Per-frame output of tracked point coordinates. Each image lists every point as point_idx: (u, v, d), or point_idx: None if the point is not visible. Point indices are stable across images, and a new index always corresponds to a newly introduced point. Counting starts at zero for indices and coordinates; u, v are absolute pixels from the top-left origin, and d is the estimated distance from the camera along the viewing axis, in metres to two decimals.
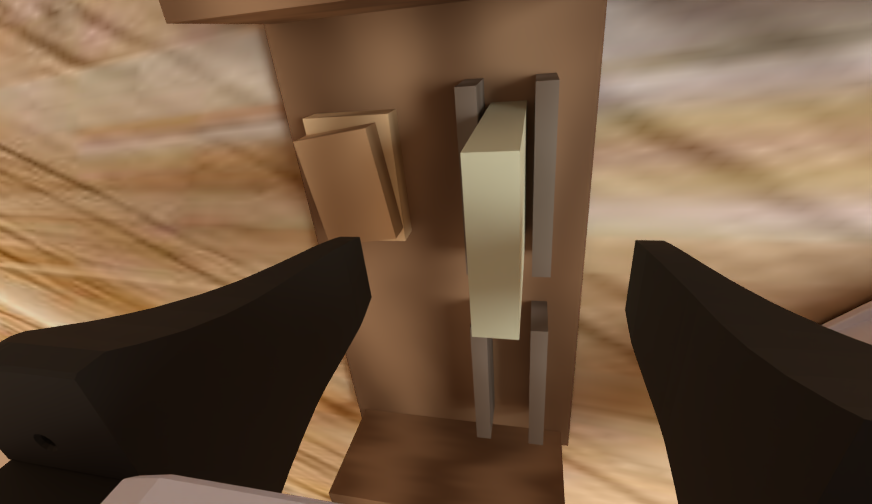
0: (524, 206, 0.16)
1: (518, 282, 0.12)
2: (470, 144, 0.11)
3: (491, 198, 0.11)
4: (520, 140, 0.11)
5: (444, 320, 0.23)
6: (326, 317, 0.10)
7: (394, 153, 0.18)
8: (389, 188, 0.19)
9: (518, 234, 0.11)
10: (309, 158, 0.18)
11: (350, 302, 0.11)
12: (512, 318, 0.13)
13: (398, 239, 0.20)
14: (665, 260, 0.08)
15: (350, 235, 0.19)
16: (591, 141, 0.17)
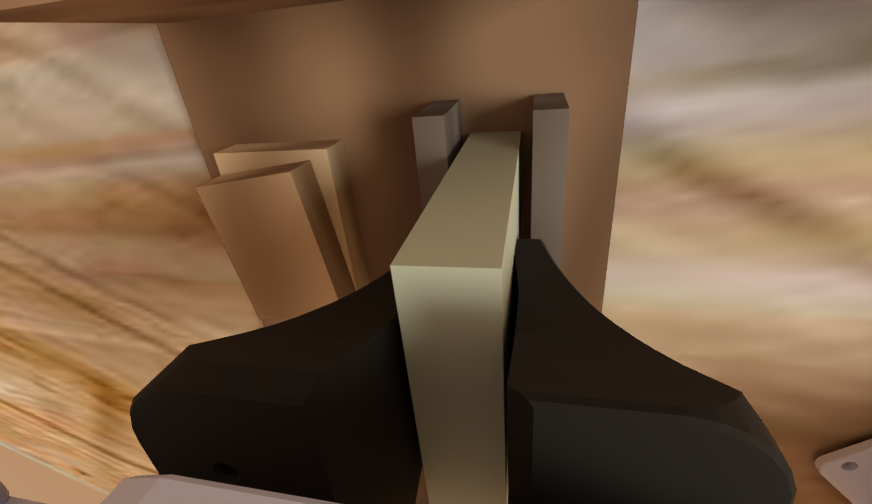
0: None
1: (503, 462, 0.07)
2: (415, 237, 0.06)
3: (450, 340, 0.06)
4: (504, 232, 0.06)
5: None
6: None
7: (340, 200, 0.13)
8: (334, 247, 0.14)
9: (501, 397, 0.06)
10: (219, 209, 0.13)
11: None
12: None
13: None
14: (521, 257, 0.09)
15: (284, 308, 0.14)
16: (611, 187, 0.12)
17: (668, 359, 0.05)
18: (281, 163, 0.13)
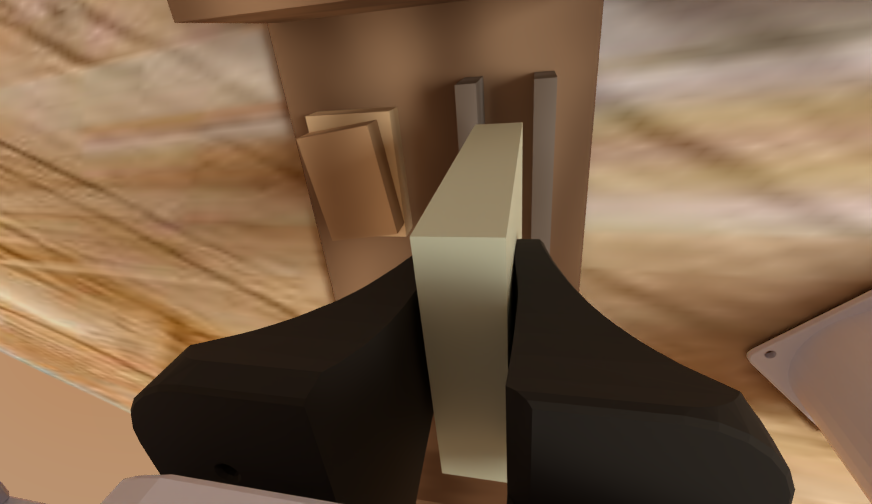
0: None
1: None
2: (430, 214, 0.07)
3: (461, 303, 0.07)
4: (508, 209, 0.07)
5: None
6: None
7: (395, 150, 0.19)
8: (390, 184, 0.19)
9: (505, 354, 0.07)
10: (312, 155, 0.18)
11: None
12: (498, 456, 0.09)
13: (400, 235, 0.21)
14: (521, 257, 0.09)
15: (352, 231, 0.20)
16: (588, 138, 0.18)
17: (667, 359, 0.05)
18: (355, 122, 0.18)
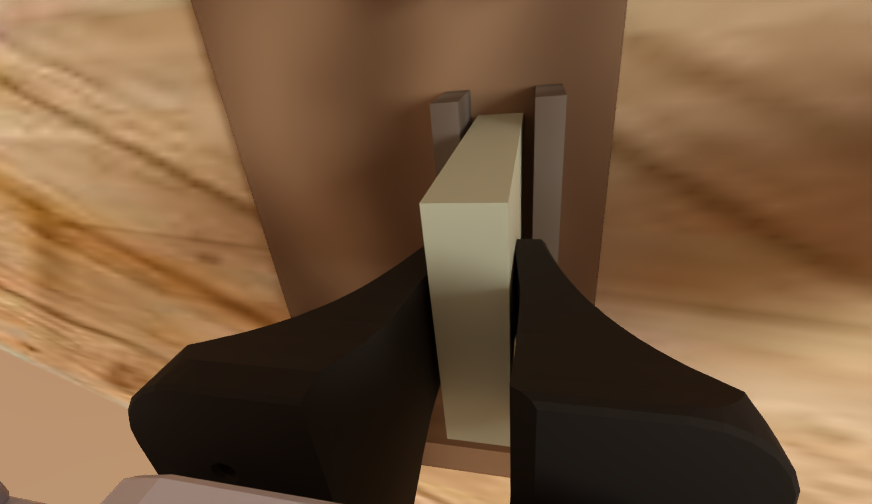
0: None
1: (508, 377, 0.09)
2: (437, 186, 0.08)
3: (466, 267, 0.07)
4: (510, 181, 0.08)
5: (398, 142, 0.15)
6: None
7: None
8: None
9: (507, 317, 0.08)
10: None
11: None
12: (500, 420, 0.09)
13: None
14: (523, 257, 0.09)
15: None
16: None
17: (671, 359, 0.05)
18: None
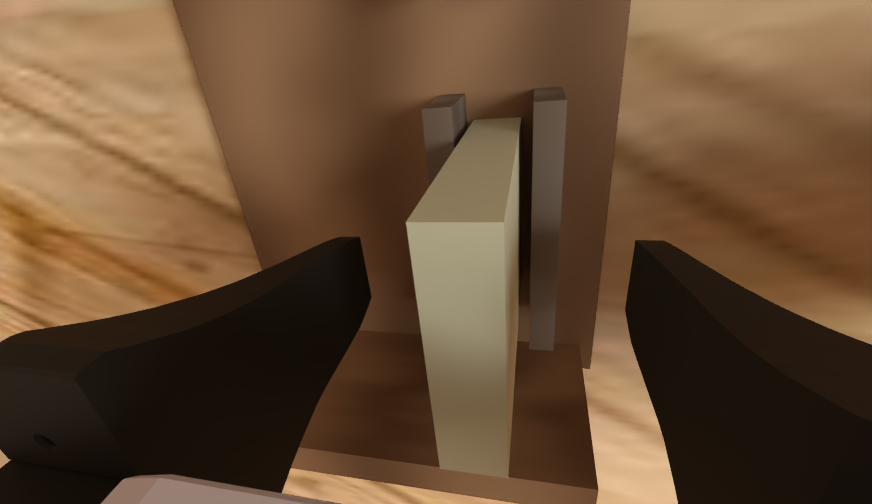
0: None
1: (505, 407, 0.08)
2: (427, 202, 0.07)
3: (459, 291, 0.07)
4: (506, 196, 0.07)
5: (390, 148, 0.14)
6: (326, 317, 0.10)
7: None
8: None
9: (504, 344, 0.07)
10: None
11: (350, 302, 0.11)
12: (497, 451, 0.08)
13: None
14: (665, 260, 0.08)
15: None
16: None
17: None
18: None
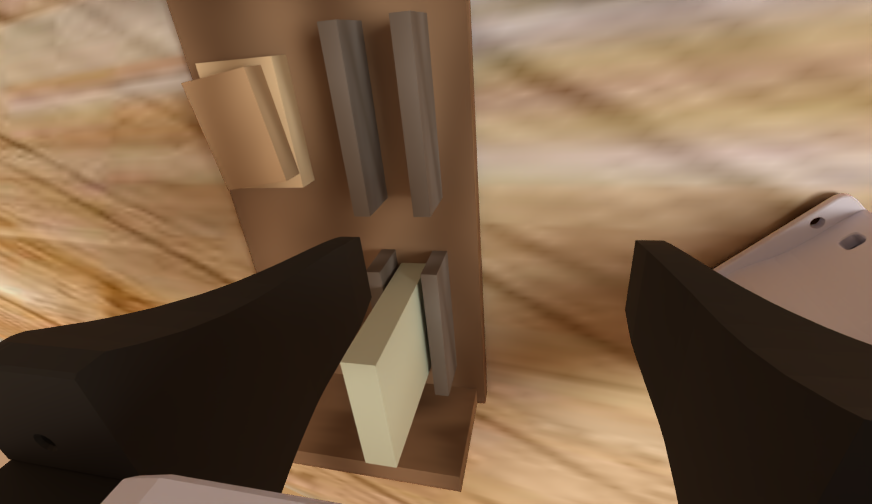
0: (420, 348, 0.22)
1: (389, 434, 0.17)
2: (351, 348, 0.17)
3: (363, 387, 0.16)
4: (384, 346, 0.17)
5: None
6: (326, 317, 0.10)
7: (283, 97, 0.19)
8: (279, 131, 0.19)
9: (383, 408, 0.17)
10: (198, 100, 0.18)
11: (350, 302, 0.11)
12: (389, 454, 0.18)
13: (297, 186, 0.21)
14: (665, 260, 0.08)
15: (245, 179, 0.20)
16: (467, 83, 0.18)
17: None
18: None
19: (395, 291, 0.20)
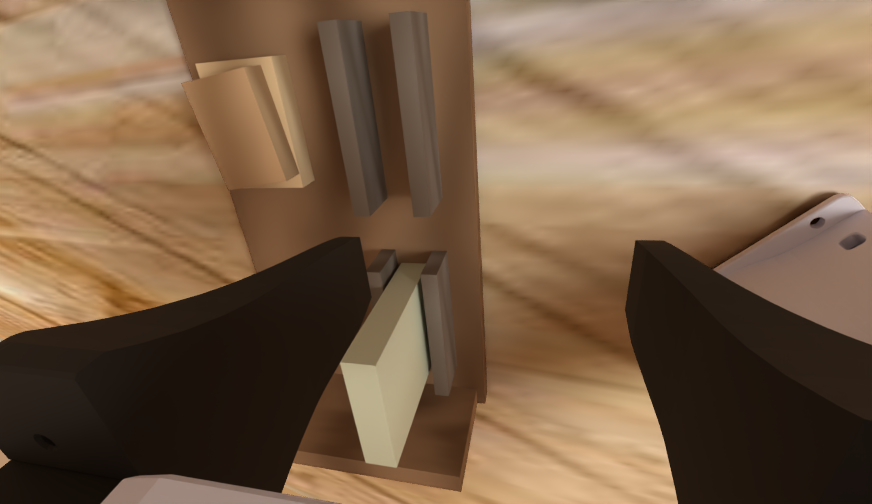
0: (420, 348, 0.22)
1: (389, 435, 0.17)
2: (351, 348, 0.17)
3: (363, 387, 0.16)
4: (384, 346, 0.17)
5: None
6: (326, 317, 0.10)
7: (283, 97, 0.19)
8: (279, 131, 0.19)
9: (383, 408, 0.17)
10: (198, 100, 0.18)
11: (350, 302, 0.11)
12: (389, 454, 0.18)
13: (297, 186, 0.21)
14: (665, 260, 0.08)
15: (245, 179, 0.20)
16: (467, 83, 0.18)
17: None
18: None
19: (395, 291, 0.20)
